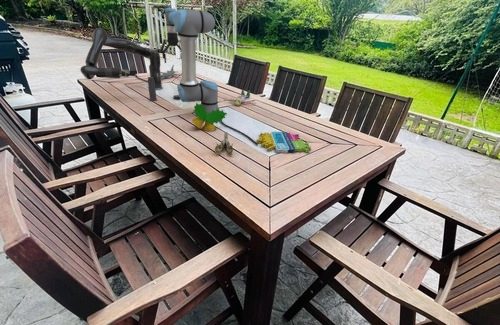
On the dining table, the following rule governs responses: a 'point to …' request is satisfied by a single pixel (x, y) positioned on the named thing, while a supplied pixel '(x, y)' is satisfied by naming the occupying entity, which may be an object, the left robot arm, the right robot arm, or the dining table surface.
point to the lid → (176, 97)
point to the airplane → (169, 74)
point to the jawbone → (224, 145)
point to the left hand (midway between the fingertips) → (136, 73)
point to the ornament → (207, 117)
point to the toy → (241, 99)
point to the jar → (152, 89)
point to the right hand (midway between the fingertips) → (174, 62)
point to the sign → (283, 142)
